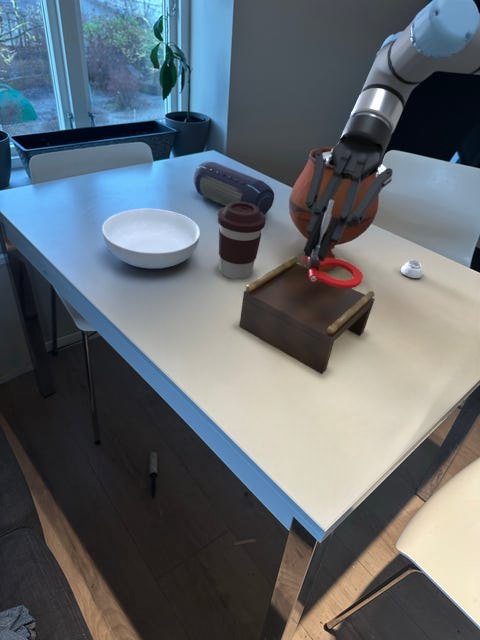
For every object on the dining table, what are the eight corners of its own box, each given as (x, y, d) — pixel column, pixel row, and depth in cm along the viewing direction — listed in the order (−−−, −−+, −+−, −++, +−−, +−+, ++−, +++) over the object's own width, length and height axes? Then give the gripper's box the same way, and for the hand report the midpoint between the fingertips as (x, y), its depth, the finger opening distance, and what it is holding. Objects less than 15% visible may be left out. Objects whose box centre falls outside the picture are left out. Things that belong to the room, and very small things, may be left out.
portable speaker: (186, 195, 130) (187, 161, 124) (210, 188, 137) (212, 155, 131) (253, 226, 119) (257, 189, 113) (275, 216, 125) (280, 181, 119)
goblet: (292, 286, 97) (315, 172, 82) (270, 244, 111) (286, 141, 96) (372, 284, 101) (409, 175, 86) (340, 243, 116) (367, 144, 101)
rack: (363, 332, 86) (377, 291, 80) (321, 375, 75) (334, 331, 70) (286, 294, 94) (294, 254, 88) (238, 327, 83) (244, 284, 78)
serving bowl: (115, 287, 90) (113, 257, 85) (96, 239, 104) (94, 211, 100) (212, 273, 98) (214, 245, 93) (182, 231, 112) (182, 205, 108)
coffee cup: (233, 288, 94) (240, 222, 85) (204, 267, 99) (208, 203, 90) (266, 275, 99) (277, 212, 90) (237, 256, 105) (244, 195, 96)
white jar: (399, 266, 109) (400, 276, 105) (403, 256, 107) (404, 266, 103) (420, 271, 108) (422, 281, 104) (424, 260, 107) (426, 270, 103)
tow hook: (357, 268, 79) (305, 259, 79) (382, 198, 71) (325, 188, 71) (364, 294, 72) (307, 284, 72) (392, 221, 64) (329, 210, 64)
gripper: (412, 151, 74) (358, 278, 72) (329, 131, 79) (276, 250, 77) (417, 122, 67) (357, 263, 65) (326, 102, 72) (267, 232, 70)
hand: (313, 255), depth 71 cm, fingers closed on tow hook, 2 cm apart
